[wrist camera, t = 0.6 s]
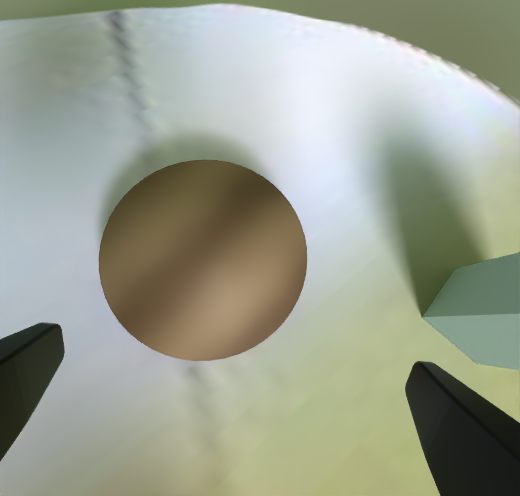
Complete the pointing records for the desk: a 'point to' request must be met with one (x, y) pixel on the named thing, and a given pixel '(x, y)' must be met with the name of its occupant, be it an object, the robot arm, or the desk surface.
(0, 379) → the robot arm
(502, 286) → the pale green tall block
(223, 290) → the walnut stand
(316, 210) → the desk surface
